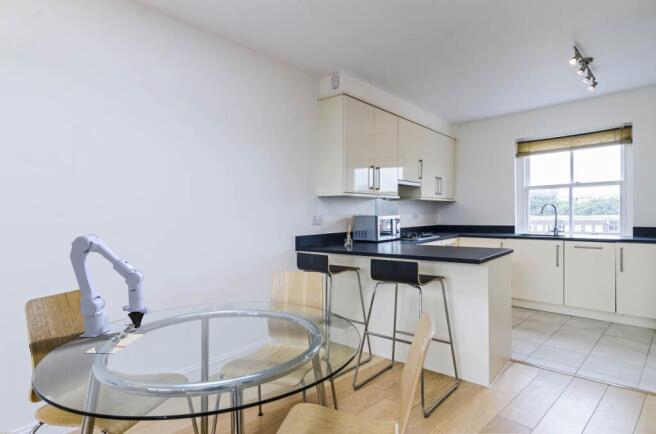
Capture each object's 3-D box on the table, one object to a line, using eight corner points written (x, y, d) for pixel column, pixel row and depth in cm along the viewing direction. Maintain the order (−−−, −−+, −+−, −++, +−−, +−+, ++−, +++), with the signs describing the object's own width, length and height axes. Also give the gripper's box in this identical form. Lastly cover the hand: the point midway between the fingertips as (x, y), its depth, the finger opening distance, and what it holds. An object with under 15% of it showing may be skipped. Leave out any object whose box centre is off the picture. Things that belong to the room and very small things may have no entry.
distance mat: (120, 332, 155) (120, 332, 155) (145, 333, 154) (145, 333, 154) (84, 352, 135) (84, 352, 135) (113, 354, 134) (113, 353, 134)
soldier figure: (106, 345, 144) (119, 325, 156) (116, 351, 146) (129, 331, 157) (117, 333, 143) (129, 315, 154) (127, 339, 144) (139, 320, 156)
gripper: (115, 299, 155) (117, 328, 156) (140, 302, 150) (142, 332, 151) (129, 294, 162) (131, 323, 163) (153, 297, 157) (155, 327, 158)
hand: (137, 327), depth 158 cm, fingers closed
